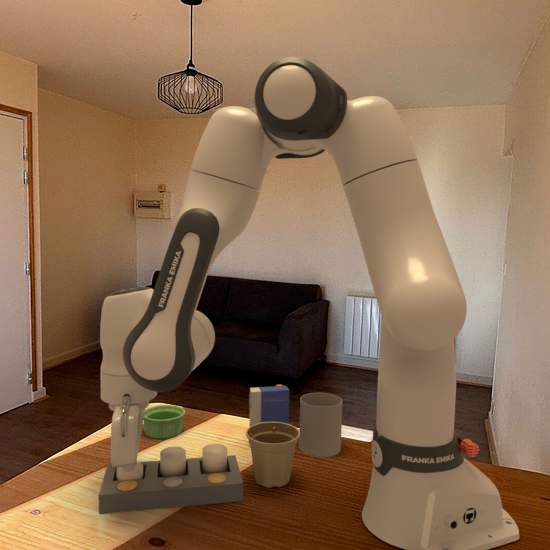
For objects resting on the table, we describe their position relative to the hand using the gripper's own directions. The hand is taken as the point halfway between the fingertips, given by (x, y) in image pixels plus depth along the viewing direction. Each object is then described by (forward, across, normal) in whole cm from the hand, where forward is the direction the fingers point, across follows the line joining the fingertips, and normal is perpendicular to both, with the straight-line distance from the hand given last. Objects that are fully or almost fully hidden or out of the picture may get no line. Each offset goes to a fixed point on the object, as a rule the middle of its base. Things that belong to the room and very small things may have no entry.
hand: (129, 467), depth 81 cm
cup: (+4, +10, -36) cm, 38 cm away
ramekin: (+4, +24, -5) cm, 24 cm away
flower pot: (+4, 0, -24) cm, 24 cm away
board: (+4, -2, -7) cm, 8 cm away
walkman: (+4, +14, -26) cm, 30 cm away
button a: (+1, 0, -14) cm, 14 cm away
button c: (+3, 0, 0) cm, 3 cm away
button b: (+1, 0, -7) cm, 7 cm away
